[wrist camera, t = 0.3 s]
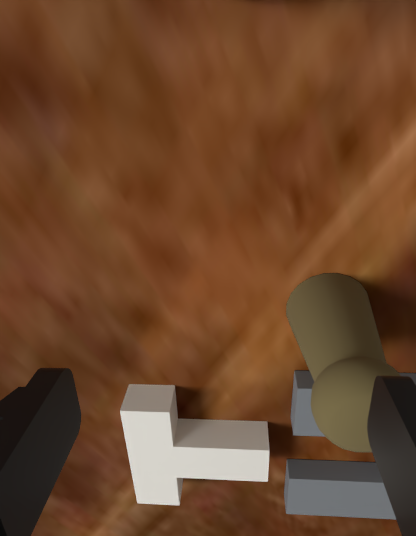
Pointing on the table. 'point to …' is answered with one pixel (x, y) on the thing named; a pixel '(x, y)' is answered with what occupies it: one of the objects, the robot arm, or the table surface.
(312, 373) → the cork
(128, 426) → the t block
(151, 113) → the table surface
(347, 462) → the t bay
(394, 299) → the table surface
